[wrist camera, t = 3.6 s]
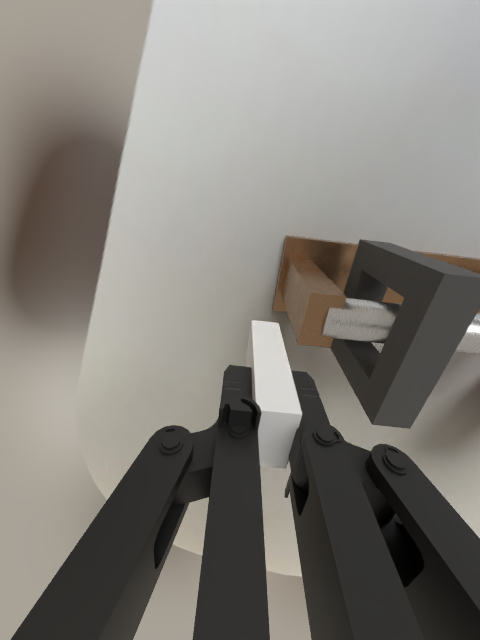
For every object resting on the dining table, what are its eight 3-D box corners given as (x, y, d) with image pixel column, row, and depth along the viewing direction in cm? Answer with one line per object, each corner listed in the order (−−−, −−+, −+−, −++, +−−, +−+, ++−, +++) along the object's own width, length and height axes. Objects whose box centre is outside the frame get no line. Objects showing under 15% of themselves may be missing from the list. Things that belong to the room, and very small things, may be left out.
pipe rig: (272, 307, 29) (287, 370, 19) (286, 235, 26) (312, 263, 15) (516, 335, 30) (658, 409, 20) (561, 268, 26) (765, 317, 16)
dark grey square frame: (327, 343, 25) (372, 424, 16) (359, 239, 21) (444, 273, 12) (352, 345, 25) (410, 428, 16) (389, 243, 21) (496, 279, 12)
